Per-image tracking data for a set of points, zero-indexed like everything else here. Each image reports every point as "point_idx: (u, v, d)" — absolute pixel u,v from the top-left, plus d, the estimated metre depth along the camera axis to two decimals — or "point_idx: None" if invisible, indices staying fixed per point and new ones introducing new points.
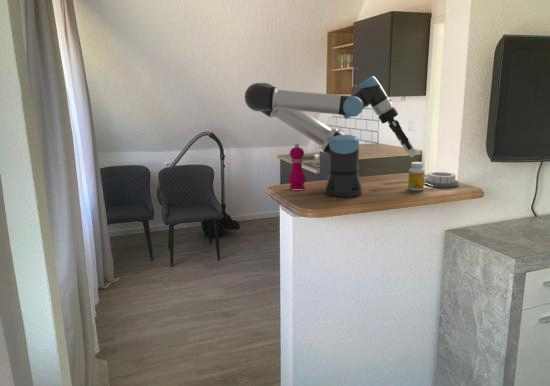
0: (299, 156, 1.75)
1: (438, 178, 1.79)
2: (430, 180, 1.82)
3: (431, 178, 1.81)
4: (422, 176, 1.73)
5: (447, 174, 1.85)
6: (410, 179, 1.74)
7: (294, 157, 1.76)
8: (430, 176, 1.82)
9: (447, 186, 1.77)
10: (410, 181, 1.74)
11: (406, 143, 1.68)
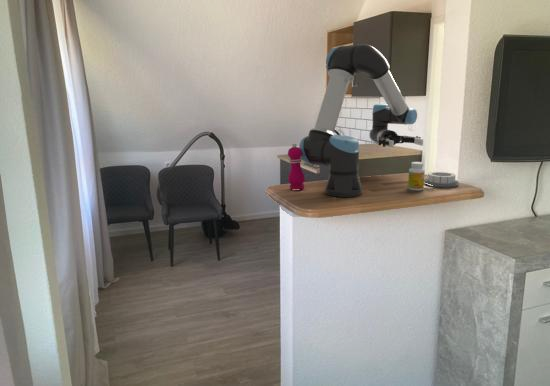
0: (297, 156, 1.74)
1: (438, 178, 1.79)
2: (430, 180, 1.82)
3: (431, 178, 1.81)
4: (422, 176, 1.73)
5: (447, 174, 1.85)
6: (410, 179, 1.74)
7: (292, 157, 1.74)
8: (430, 176, 1.82)
9: (447, 186, 1.77)
10: (410, 181, 1.74)
11: None
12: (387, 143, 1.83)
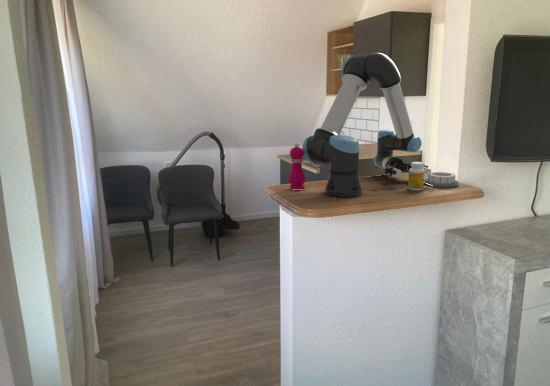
0: (299, 156, 1.75)
1: (438, 178, 1.79)
2: (430, 180, 1.82)
3: (431, 178, 1.81)
4: (422, 176, 1.73)
5: (447, 174, 1.85)
6: (410, 179, 1.74)
7: (294, 157, 1.76)
8: (430, 176, 1.82)
9: (447, 186, 1.77)
10: (410, 181, 1.74)
11: None
12: (394, 172, 1.80)
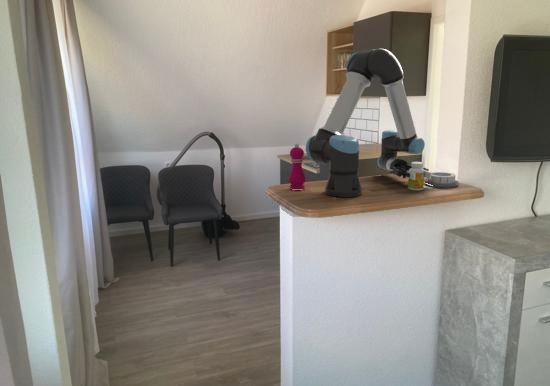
0: (299, 156, 1.75)
1: (438, 178, 1.79)
2: (430, 180, 1.82)
3: (431, 178, 1.81)
4: (422, 176, 1.73)
5: (447, 174, 1.85)
6: (410, 179, 1.74)
7: (294, 157, 1.76)
8: None
9: (447, 186, 1.77)
10: (410, 181, 1.74)
11: None
12: (408, 175, 1.73)
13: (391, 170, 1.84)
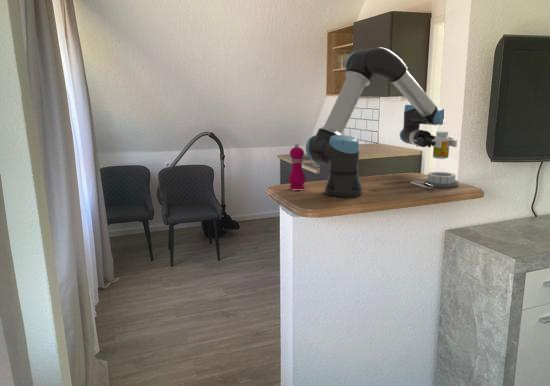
0: (299, 156, 1.75)
1: (438, 178, 1.79)
2: (430, 180, 1.82)
3: (431, 178, 1.81)
4: (447, 144, 1.76)
5: (447, 174, 1.85)
6: (435, 148, 1.78)
7: (294, 157, 1.76)
8: (430, 176, 1.82)
9: (447, 186, 1.77)
10: (436, 149, 1.78)
11: None
12: (434, 143, 1.77)
13: (415, 140, 1.88)
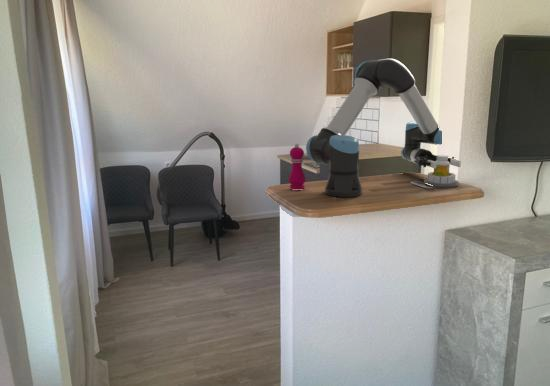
0: (299, 156, 1.75)
1: (438, 178, 1.79)
2: (430, 180, 1.82)
3: (431, 178, 1.81)
4: (447, 168, 1.80)
5: None
6: (436, 171, 1.81)
7: (294, 157, 1.76)
8: (430, 176, 1.82)
9: (447, 186, 1.77)
10: (436, 173, 1.81)
11: None
12: (429, 164, 1.80)
13: (415, 160, 1.91)
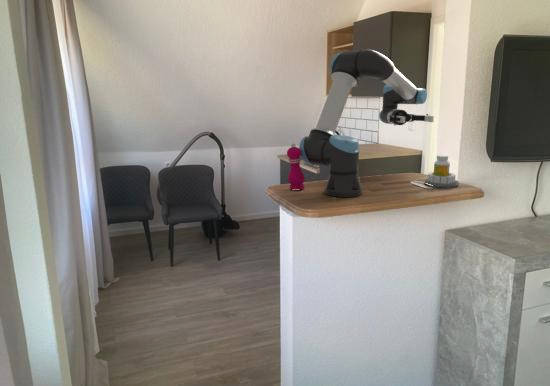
0: (296, 156, 1.74)
1: (438, 178, 1.79)
2: (430, 180, 1.82)
3: (431, 178, 1.81)
4: (447, 168, 1.80)
5: None
6: (436, 171, 1.81)
7: (291, 157, 1.75)
8: (430, 176, 1.82)
9: (447, 186, 1.77)
10: (436, 173, 1.81)
11: None
12: (398, 119, 1.88)
13: (389, 118, 2.00)
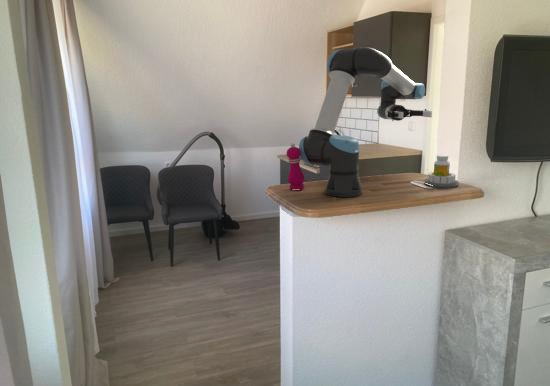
0: (296, 156, 1.74)
1: (438, 178, 1.79)
2: (430, 180, 1.82)
3: (431, 178, 1.81)
4: (447, 168, 1.80)
5: None
6: (436, 171, 1.81)
7: (291, 157, 1.75)
8: (430, 176, 1.82)
9: (447, 186, 1.77)
10: (436, 173, 1.81)
11: None
12: (396, 115, 1.88)
13: (388, 113, 1.99)
